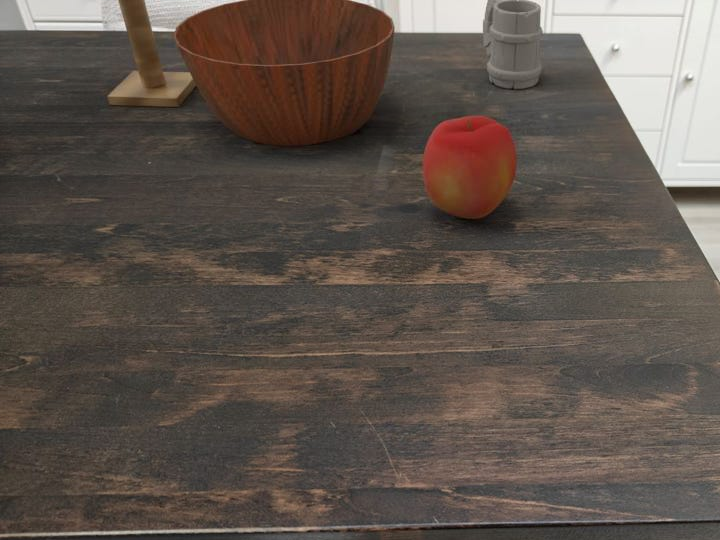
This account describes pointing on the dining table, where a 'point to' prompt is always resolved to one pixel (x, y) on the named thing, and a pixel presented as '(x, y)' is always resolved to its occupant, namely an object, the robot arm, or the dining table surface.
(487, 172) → the apple
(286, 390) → the dining table surface
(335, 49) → the bowl
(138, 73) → the post
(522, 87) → the mug
